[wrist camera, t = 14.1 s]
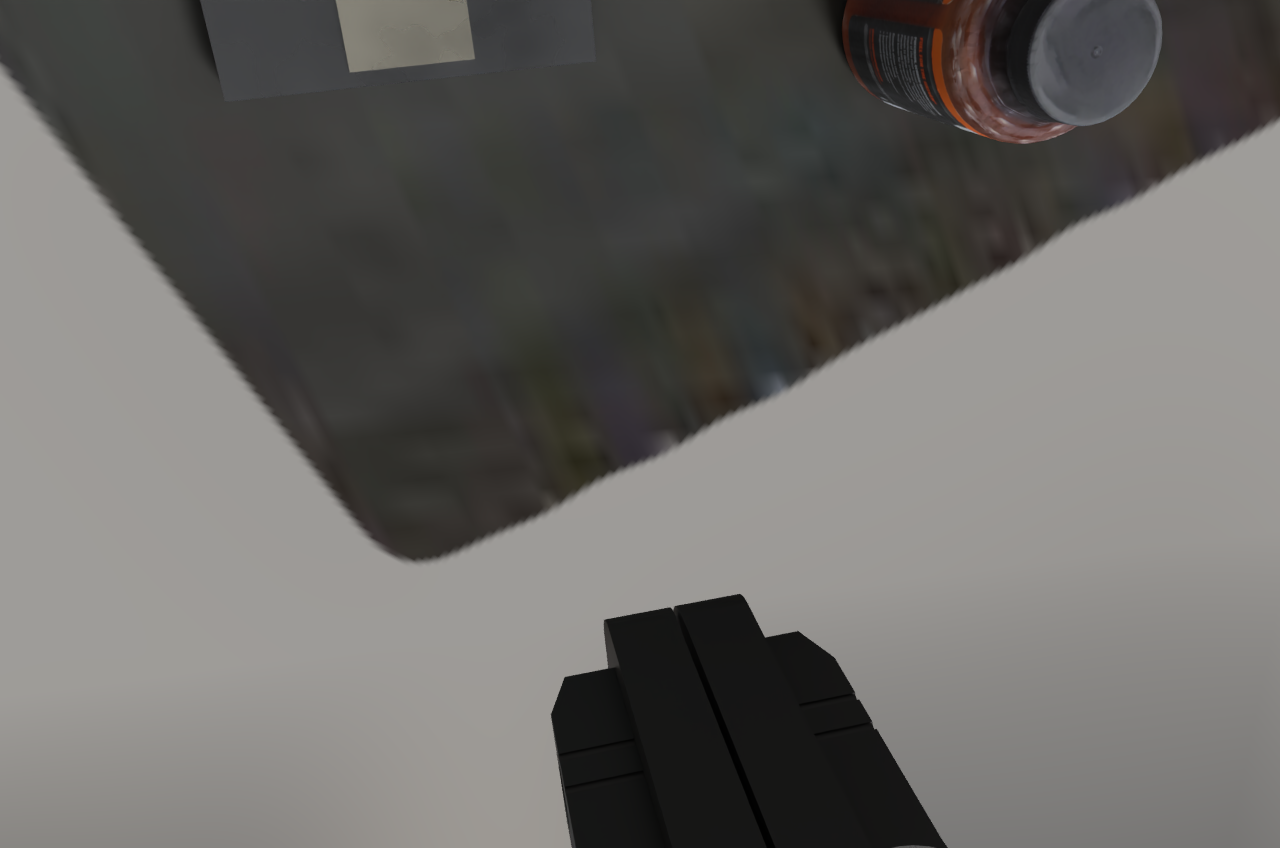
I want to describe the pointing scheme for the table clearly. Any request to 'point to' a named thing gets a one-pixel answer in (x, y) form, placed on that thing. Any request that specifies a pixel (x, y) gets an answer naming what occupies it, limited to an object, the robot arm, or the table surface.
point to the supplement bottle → (1004, 60)
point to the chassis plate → (386, 41)
